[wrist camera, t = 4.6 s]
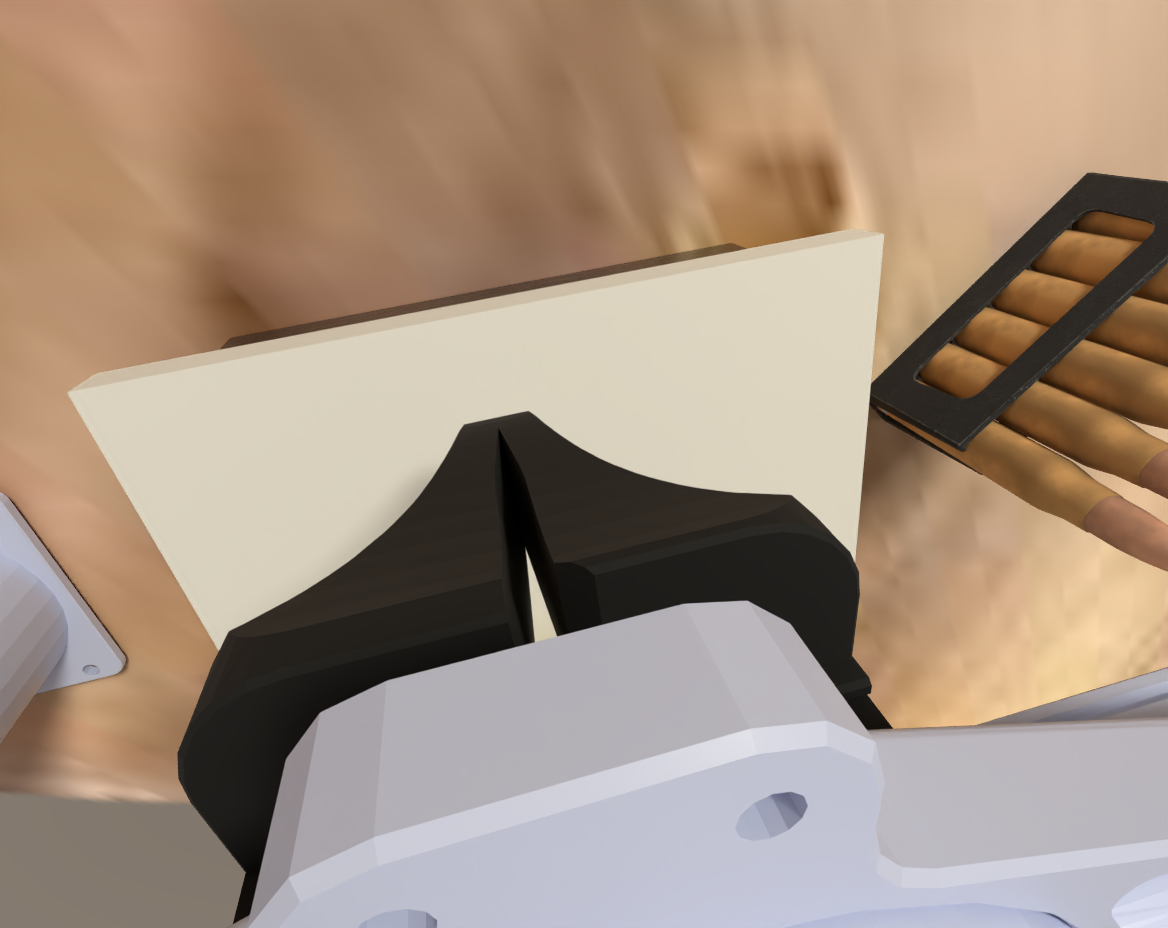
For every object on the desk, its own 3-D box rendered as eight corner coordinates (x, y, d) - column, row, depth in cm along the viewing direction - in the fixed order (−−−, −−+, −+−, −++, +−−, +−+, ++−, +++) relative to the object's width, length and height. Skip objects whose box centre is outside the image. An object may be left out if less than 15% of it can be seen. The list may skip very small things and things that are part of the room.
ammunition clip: (882, 420, 25) (1193, 623, 15) (859, 394, 24) (1172, 592, 14) (1106, 207, 23) (1667, 275, 12) (1089, 170, 22) (1675, 210, 11)
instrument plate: (338, 812, 21) (310, 994, 16) (96, 373, 13) (-82, 487, 9) (824, 675, 23) (918, 803, 19) (854, 228, 15) (1026, 260, 11)
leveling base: (373, 660, 25) (361, 766, 21) (230, 338, 18) (169, 400, 14) (735, 568, 27) (790, 649, 23) (732, 243, 20) (809, 273, 16)
